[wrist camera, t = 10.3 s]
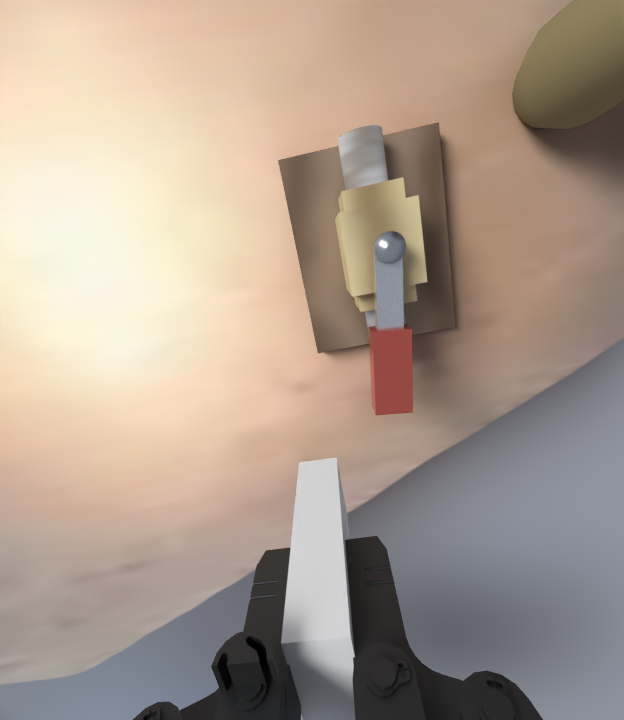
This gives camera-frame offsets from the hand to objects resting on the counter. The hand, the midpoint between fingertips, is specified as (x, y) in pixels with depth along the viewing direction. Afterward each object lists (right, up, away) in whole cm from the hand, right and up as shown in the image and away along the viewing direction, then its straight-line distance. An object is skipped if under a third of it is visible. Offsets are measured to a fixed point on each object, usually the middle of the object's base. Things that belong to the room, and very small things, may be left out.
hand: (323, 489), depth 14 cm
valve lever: (+6, +8, +14) cm, 17 cm away
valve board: (+5, +16, +20) cm, 27 cm away
